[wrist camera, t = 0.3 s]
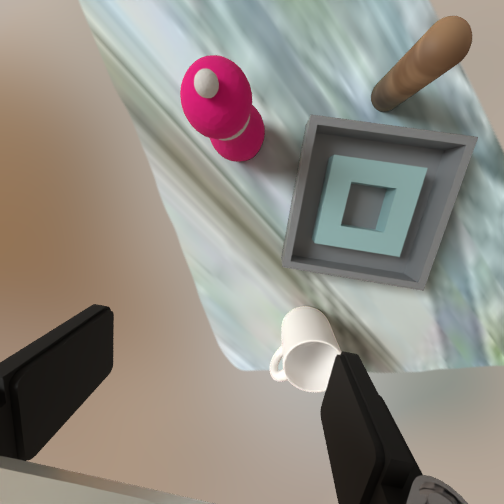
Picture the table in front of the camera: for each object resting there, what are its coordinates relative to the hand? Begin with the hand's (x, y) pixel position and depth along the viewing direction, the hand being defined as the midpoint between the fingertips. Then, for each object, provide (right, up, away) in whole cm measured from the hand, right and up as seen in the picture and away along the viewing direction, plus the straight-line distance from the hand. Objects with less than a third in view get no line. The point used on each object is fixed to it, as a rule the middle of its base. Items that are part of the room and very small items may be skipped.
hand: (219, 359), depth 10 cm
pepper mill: (0, +21, +26) cm, 34 cm away
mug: (+9, -10, +33) cm, 36 cm away
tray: (+17, +11, +27) cm, 34 cm away
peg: (+20, +26, +23) cm, 40 cm away
